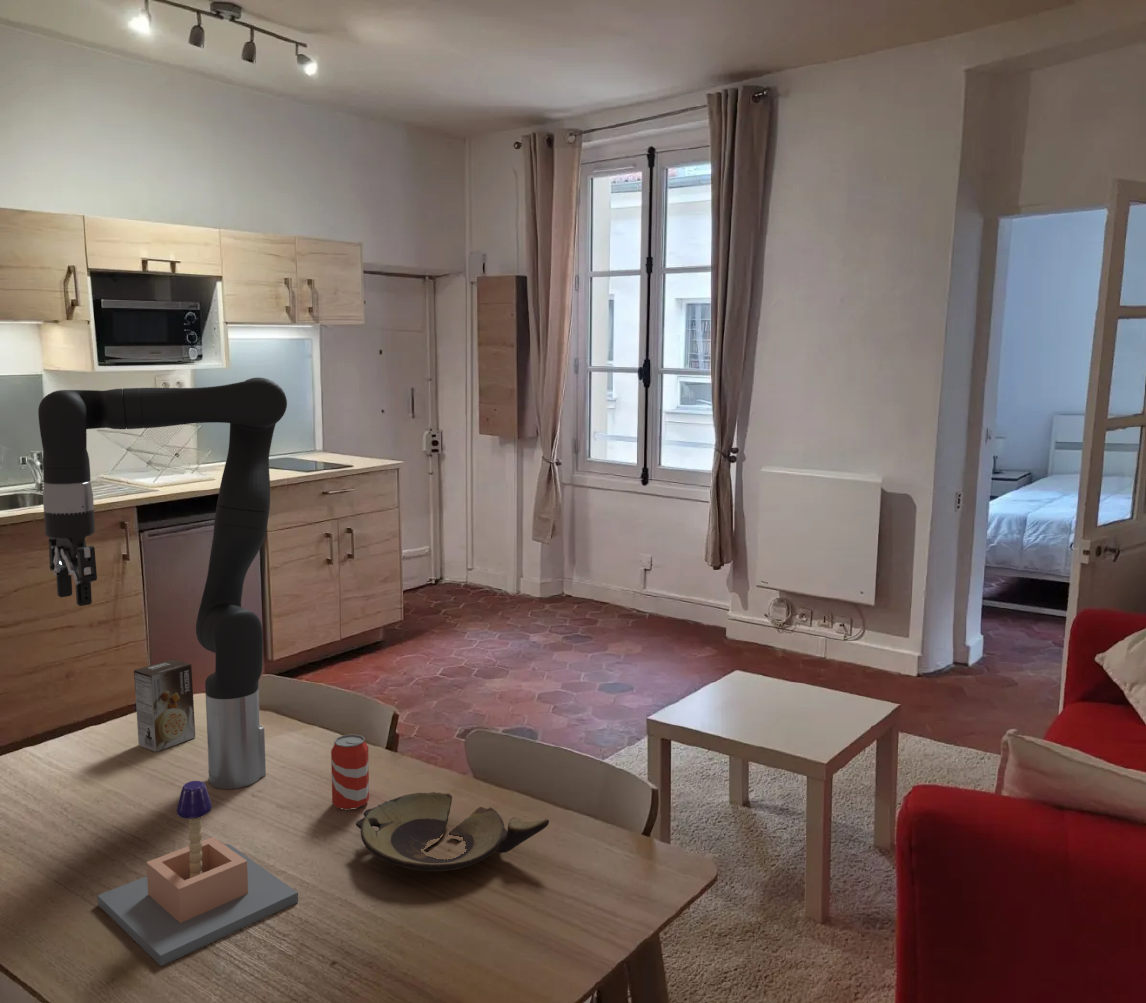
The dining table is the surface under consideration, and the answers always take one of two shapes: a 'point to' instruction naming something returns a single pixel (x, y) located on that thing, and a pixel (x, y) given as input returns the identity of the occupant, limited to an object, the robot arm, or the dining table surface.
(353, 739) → the beverage can
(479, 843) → the broken brown handled bowl
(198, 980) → the dining table surface
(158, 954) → the socket block
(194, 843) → the toy lamp
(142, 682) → the coffee box
